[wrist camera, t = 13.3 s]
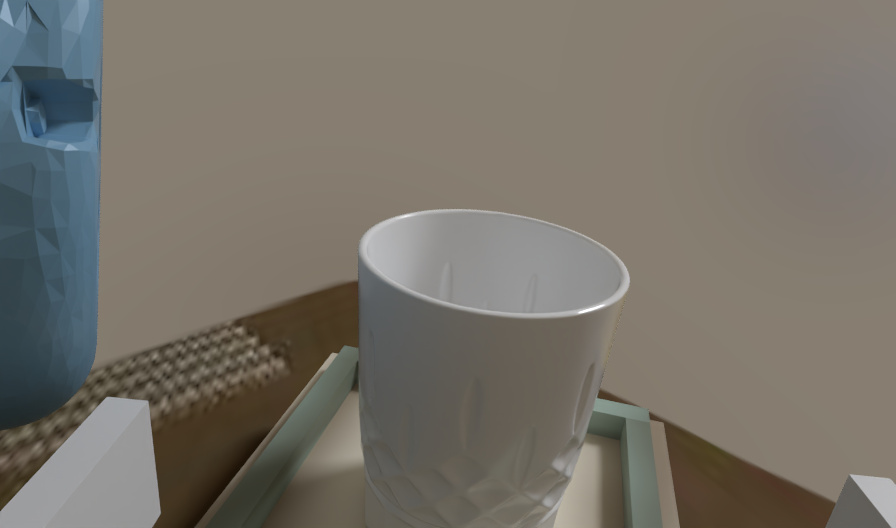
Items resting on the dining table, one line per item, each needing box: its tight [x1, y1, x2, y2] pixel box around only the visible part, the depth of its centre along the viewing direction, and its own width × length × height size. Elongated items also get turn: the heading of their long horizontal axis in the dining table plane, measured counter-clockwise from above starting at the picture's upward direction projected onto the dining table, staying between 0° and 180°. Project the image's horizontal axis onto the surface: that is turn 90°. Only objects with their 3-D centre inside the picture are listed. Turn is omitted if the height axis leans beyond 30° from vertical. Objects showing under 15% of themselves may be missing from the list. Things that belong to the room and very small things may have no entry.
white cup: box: [358, 209, 630, 528], centre depth 20 cm, size 8×8×10 cm
